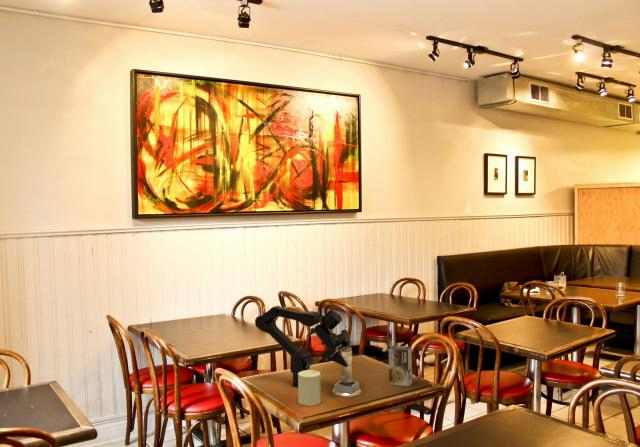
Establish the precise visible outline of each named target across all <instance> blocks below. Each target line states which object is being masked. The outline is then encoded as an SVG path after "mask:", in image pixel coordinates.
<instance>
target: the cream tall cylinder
mask: <svg viewBox="0 0 640 447" xmlns="http://www.w3.org/2000/svg"><path fill="white" fill-rule="evenodd" d="M352 349H353V348H352V347H351V346H349V347H342V348H341V355H342V357H343V358H344V360H345V361H346V363H347V365H348V366H347V367H344V366H342V365H340V367H341V370H340V371H341V372H340V376H341V377H340V380H341V381H342V382H345V383H348V382H351V381H353V379H352V377H353V372H352V370H353V368H352V366H353V363H352V362H353V360H352V359H353V357H352V356H353V350H352Z"/></svg>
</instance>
